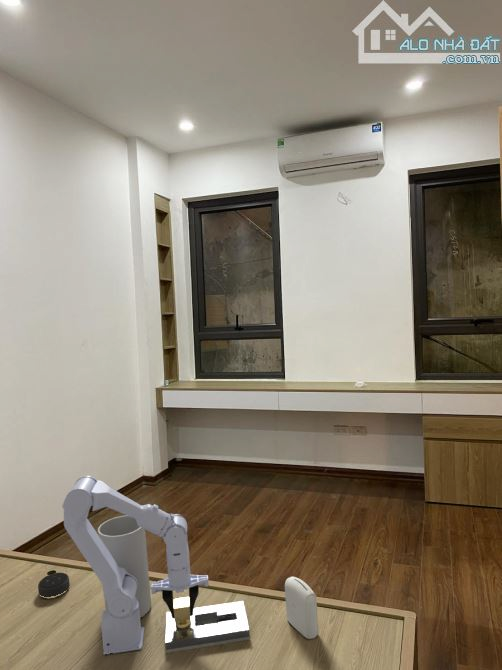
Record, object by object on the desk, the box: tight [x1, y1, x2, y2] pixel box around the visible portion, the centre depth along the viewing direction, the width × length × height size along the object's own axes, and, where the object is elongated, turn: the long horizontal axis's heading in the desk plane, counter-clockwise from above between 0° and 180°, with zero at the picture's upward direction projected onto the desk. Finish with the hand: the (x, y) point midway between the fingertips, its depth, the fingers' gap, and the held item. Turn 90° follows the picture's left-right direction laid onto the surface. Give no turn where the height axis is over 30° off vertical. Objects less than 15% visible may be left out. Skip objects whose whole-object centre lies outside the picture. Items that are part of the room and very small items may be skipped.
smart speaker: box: [37, 572, 71, 597], centre depth 150 cm, size 9×9×4 cm
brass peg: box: [173, 596, 191, 629], centre depth 127 cm, size 4×4×6 cm
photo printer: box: [284, 576, 319, 640], centre depth 127 cm, size 10×4×12 cm, turn 29°
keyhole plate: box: [164, 600, 251, 654], centre depth 128 cm, size 21×12×3 cm, turn 98°
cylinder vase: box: [97, 515, 152, 619], centre depth 138 cm, size 12×12×25 cm
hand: (182, 614), depth 127 cm, fingers closed on brass peg, 4 cm apart
